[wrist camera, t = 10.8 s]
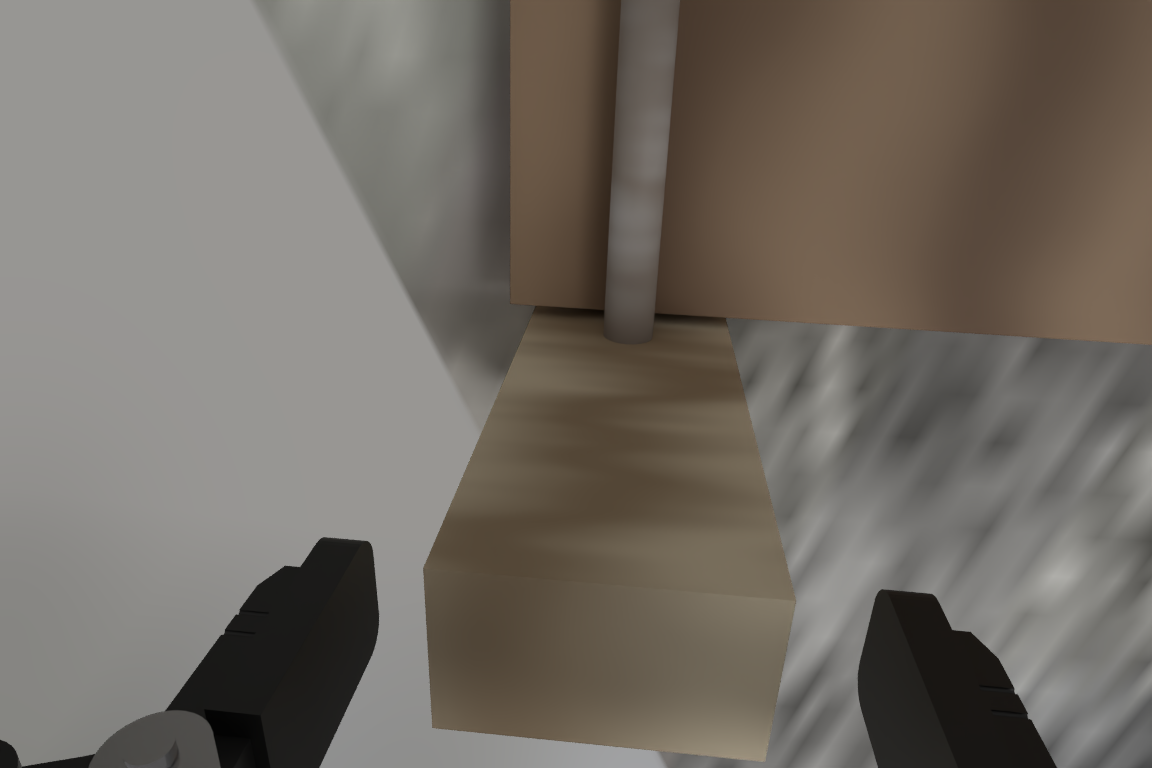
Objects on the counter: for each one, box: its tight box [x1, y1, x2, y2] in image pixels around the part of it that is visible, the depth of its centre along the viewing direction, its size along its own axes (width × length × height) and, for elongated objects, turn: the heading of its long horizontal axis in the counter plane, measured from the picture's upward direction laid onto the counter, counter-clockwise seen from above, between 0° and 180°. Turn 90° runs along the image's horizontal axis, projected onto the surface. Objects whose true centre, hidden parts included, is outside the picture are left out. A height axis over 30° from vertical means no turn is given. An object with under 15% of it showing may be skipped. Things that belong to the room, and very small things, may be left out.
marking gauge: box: [423, 0, 796, 762], centre depth 14 cm, size 5×13×12 cm, turn 178°
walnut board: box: [510, 0, 1152, 345], centre depth 17 cm, size 24×12×2 cm, turn 88°
